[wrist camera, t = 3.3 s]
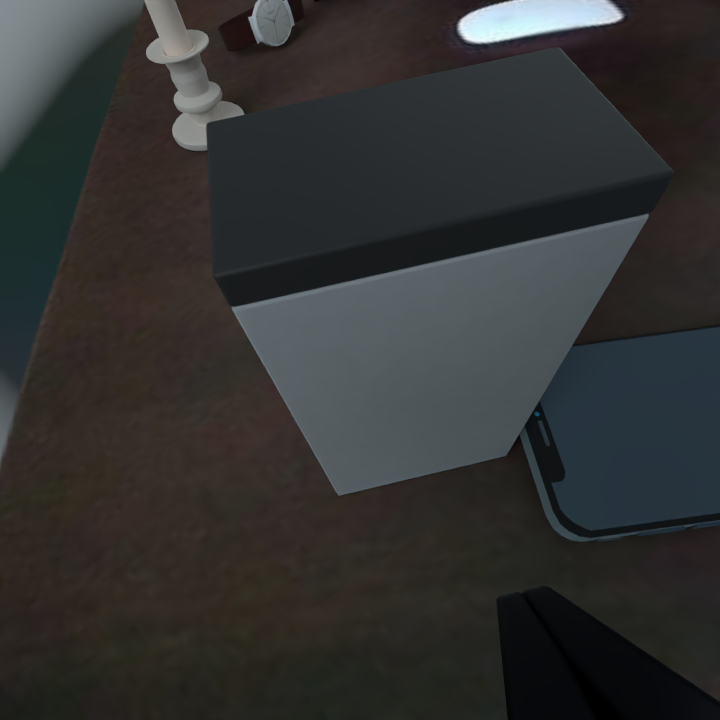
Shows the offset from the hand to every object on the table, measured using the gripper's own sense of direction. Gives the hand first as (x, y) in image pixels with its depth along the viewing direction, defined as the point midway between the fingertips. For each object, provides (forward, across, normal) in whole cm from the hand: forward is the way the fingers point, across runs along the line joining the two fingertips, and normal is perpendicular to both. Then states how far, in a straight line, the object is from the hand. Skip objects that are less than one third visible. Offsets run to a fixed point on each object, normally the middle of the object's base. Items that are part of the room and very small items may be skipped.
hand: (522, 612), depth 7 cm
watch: (+38, +2, -24) cm, 45 cm away
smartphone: (+10, -12, +4) cm, 16 cm away
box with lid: (+12, 0, +2) cm, 12 cm away
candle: (+30, +8, -16) cm, 35 cm away
